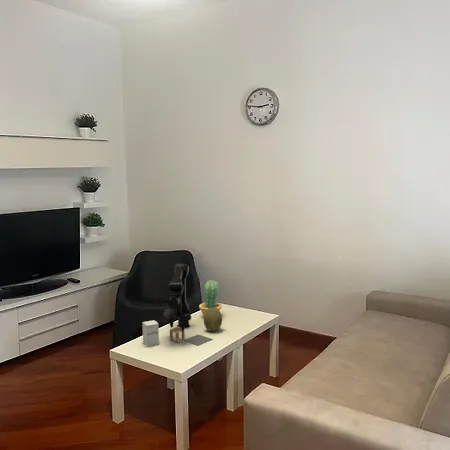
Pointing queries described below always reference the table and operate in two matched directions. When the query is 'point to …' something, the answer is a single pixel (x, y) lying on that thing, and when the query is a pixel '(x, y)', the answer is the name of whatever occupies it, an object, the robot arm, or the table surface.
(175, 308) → the robot arm
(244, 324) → the table surface
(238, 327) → the table surface
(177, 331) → the stool
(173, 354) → the table surface
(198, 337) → the mat
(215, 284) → the potted cactus
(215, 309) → the fruit
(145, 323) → the supplement box
